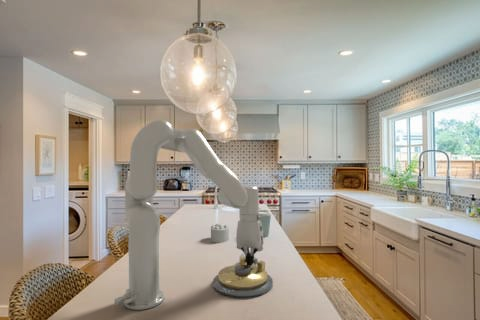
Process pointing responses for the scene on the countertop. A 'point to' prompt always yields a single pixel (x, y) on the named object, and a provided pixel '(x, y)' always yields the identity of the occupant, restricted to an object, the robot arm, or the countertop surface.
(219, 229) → the lumpy-topped squat cylinder
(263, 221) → the disposable coffee cup
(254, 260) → the pipe fitting
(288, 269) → the countertop surface
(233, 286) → the lugged brass disc
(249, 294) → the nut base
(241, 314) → the countertop surface
